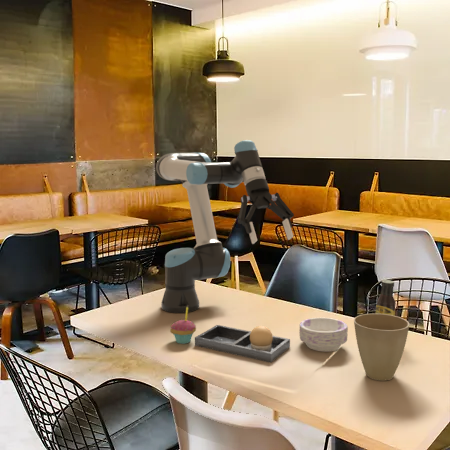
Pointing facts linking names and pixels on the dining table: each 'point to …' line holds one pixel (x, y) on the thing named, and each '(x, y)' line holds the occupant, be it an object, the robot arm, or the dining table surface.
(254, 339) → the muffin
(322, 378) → the dining table surface
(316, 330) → the paper bowls
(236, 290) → the dining table surface
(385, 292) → the sauce bottle
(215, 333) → the divided tray
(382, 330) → the plant pot
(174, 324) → the cupcake
